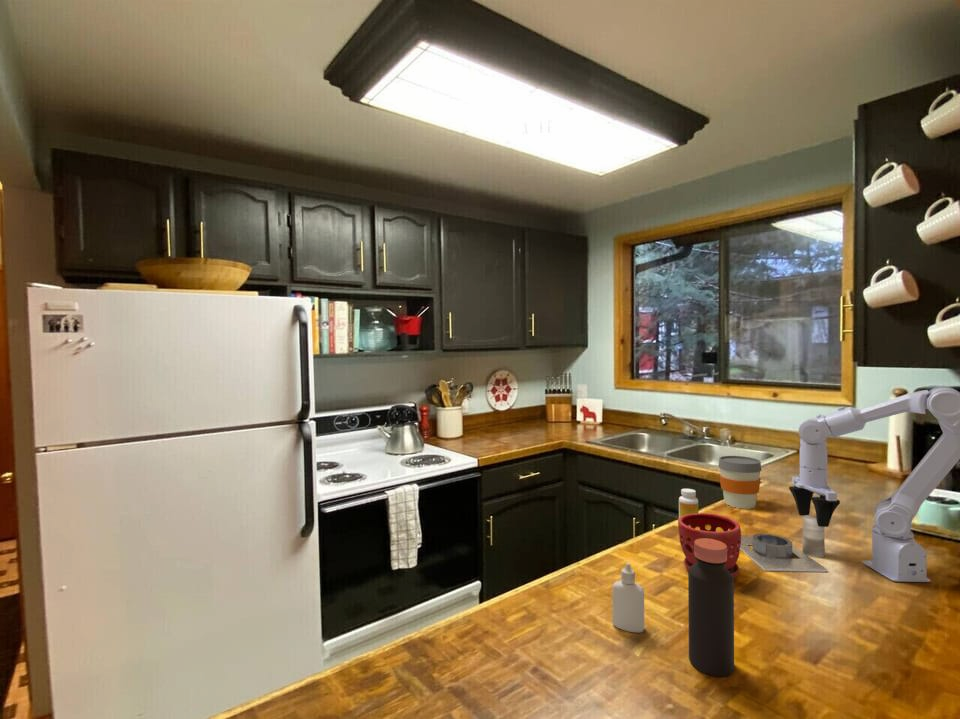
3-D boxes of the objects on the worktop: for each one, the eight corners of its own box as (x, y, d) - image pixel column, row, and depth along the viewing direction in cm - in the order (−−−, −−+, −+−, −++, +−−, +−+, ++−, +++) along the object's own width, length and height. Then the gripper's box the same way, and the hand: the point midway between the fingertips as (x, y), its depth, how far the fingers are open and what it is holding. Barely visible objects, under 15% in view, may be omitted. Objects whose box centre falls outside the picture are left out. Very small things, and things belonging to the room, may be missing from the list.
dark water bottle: (720, 650, 82) (719, 535, 81) (743, 677, 75) (742, 552, 74) (681, 651, 81) (680, 536, 81) (701, 678, 75) (700, 553, 74)
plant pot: (707, 556, 119) (707, 508, 118) (754, 579, 106) (754, 526, 106) (666, 565, 114) (666, 515, 114) (710, 590, 102) (710, 535, 101)
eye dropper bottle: (624, 616, 92) (623, 555, 92) (648, 630, 88) (648, 566, 87) (608, 623, 90) (608, 561, 90) (633, 638, 85) (632, 572, 85)
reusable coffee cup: (770, 507, 153) (770, 461, 153) (742, 513, 149) (742, 465, 149) (736, 496, 165) (736, 454, 165) (710, 501, 161) (709, 457, 160)
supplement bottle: (700, 526, 138) (700, 493, 138) (681, 525, 139) (680, 492, 139) (696, 519, 144) (695, 488, 144) (677, 518, 145) (677, 487, 145)
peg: (828, 557, 117) (828, 521, 116) (809, 557, 117) (809, 521, 117) (817, 550, 121) (817, 515, 121) (798, 549, 121) (798, 515, 121)
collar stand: (827, 571, 109) (827, 557, 109) (764, 570, 110) (764, 556, 110) (778, 537, 129) (778, 525, 129) (725, 537, 130) (725, 525, 130)
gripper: (780, 460, 126) (780, 510, 126) (815, 474, 112) (814, 531, 112) (807, 460, 126) (807, 510, 126) (846, 474, 111) (846, 531, 112)
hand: (813, 520), depth 119 cm, fingers open, 7 cm apart
